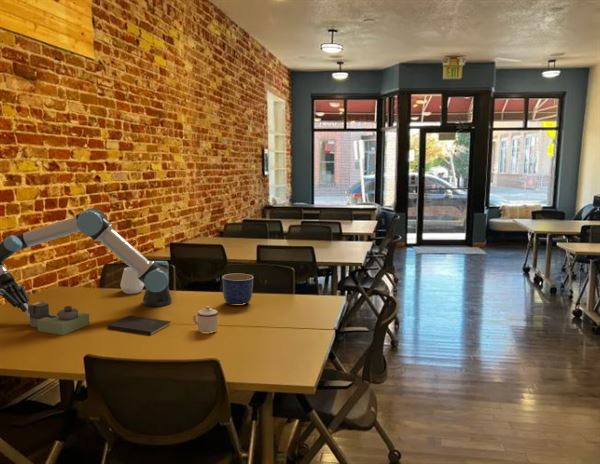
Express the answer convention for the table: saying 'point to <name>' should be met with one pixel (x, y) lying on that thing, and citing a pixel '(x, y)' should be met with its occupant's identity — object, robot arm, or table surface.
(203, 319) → the teacup with lid
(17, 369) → the table surface
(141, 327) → the hardcover book
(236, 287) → the planter
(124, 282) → the cup
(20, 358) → the table surface
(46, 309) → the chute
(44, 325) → the flat slab with knob
